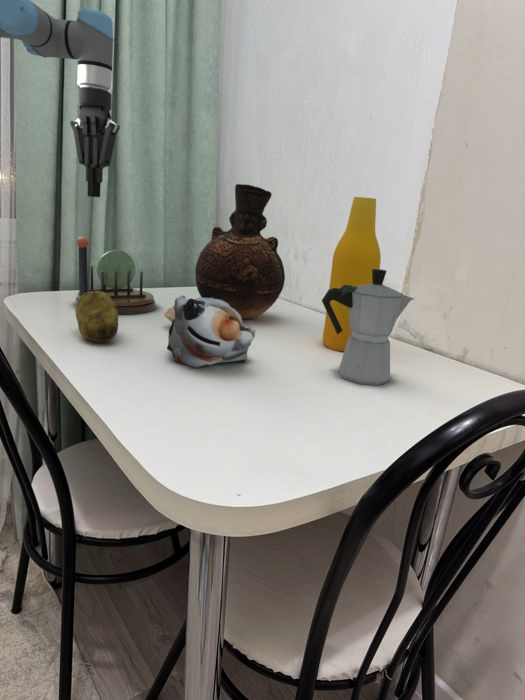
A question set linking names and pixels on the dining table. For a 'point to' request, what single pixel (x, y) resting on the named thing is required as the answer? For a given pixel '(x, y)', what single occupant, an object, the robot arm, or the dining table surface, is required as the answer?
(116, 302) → the dish rack
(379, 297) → the coffee maker
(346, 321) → the beer bottle
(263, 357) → the dining table surface
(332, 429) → the dining table surface
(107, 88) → the robot arm
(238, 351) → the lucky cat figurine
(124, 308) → the base
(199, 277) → the ceramic vessel
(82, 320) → the potato
